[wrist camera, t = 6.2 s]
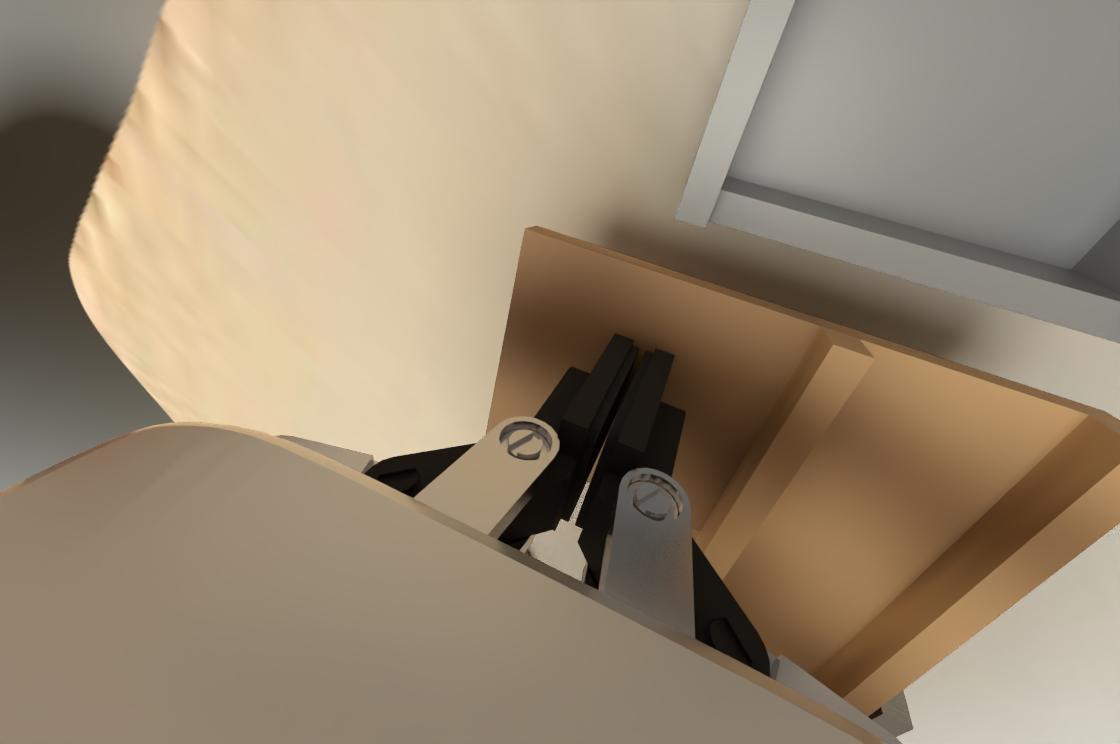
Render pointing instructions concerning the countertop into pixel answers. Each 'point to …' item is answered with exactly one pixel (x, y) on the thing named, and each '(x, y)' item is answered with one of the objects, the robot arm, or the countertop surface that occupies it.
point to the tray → (930, 146)
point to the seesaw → (829, 461)
